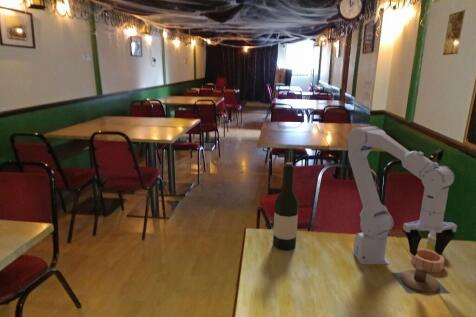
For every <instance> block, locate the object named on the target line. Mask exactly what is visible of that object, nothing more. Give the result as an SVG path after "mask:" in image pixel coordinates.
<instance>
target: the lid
mask: <svg viewBox="0 0 476 317" xmlns="http://www.w3.org/2000/svg"><path fill="white" fill-rule="evenodd" d="M400 273H401V281H402V282H403V283H404V284H405V285H406V286H407V287H409V288H411V289H413V290H416V291H419V292H423V293H422V294H435V293H434V292H436V291H438V289H439V283H440V281H439V280H438V279H437V278H436V277H434V276H433V275H432V274H431V275H432V276H431V275H429V274H427V273H428V271H427V269H426V268H425V267H422V266H415V269H407V270H406V269H405V270H404V271H402V272H400Z"/></svg>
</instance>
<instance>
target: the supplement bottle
mask: <svg viewBox="0 0 476 317" xmlns="http://www.w3.org/2000/svg"><path fill="white" fill-rule="evenodd" d="M435 243H436V232H434V231H429V233H428V235H427V240H426V246H425V249H429V250H433V251H435Z"/></svg>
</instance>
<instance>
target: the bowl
mask: <svg viewBox="0 0 476 317" xmlns="http://www.w3.org/2000/svg"><path fill="white" fill-rule="evenodd" d="M410 262H411V264H412V265H413V266H415V267H416V266H422V267H425V268H426V269H427V272H428V273H440V272H442V270H444V265H445V256H443V255H438V254H437V253H436V252H435V251H433V250H429V249H426V248H423V247H422V248H419V247H418V250H417V254H416V256H413V255H412V254H411V260H410Z"/></svg>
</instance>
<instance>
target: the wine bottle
mask: <svg viewBox="0 0 476 317" xmlns="http://www.w3.org/2000/svg"><path fill="white" fill-rule="evenodd" d="M284 163H285V164H284V166H283V178H282V189H281V191H280V192H279V194H278V195H277V197H276V198H275V200H274V213H273V214H274V217H273V218H274V219H273V232H272V233H273V236H272V247H274V248H276V249H277V250H279V251H286V252H287V251H292V250H295V249H296V245H297V233H298V231H297V230H298V217H299V204H300V203H299V201H300V200H299V198H298V197H297V195H296V193H295V191H294V190H293V188H294V186H293V184H294V171H295V170H294V169H295V165H293V164H294V163H292V162H284Z"/></svg>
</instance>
